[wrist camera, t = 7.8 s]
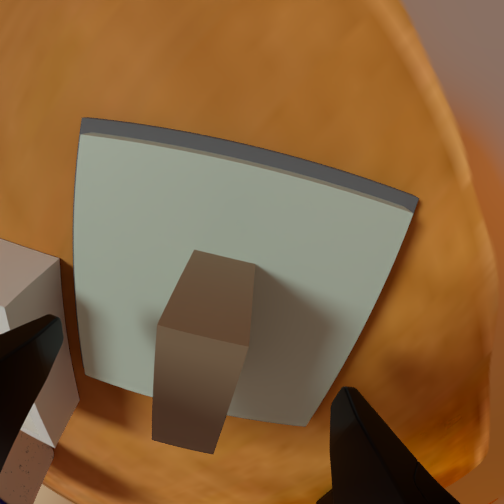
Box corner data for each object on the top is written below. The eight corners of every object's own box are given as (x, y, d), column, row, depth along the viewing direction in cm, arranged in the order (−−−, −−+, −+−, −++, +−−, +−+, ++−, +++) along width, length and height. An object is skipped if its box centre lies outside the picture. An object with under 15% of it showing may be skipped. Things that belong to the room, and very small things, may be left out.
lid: (404, 206, 10) (481, 269, 6) (304, 414, 14) (310, 496, 10) (92, 132, 9) (-6, 154, 5) (91, 364, 14) (51, 435, 9)
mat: (414, 195, 10) (418, 198, 10) (308, 415, 15) (308, 421, 15) (87, 117, 9) (82, 117, 9) (86, 362, 14) (83, 367, 14)
